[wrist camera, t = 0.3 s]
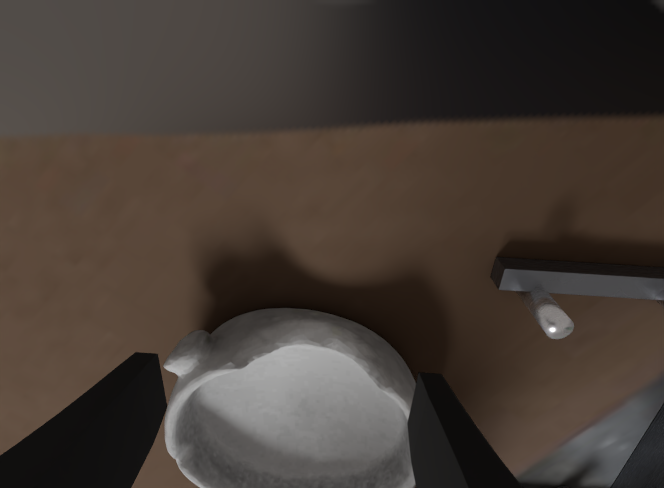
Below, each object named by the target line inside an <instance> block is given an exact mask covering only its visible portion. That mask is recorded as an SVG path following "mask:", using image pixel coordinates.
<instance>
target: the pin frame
mask: <svg viewBox="0 0 664 488" xmlns="http://www.w3.org/2000/svg"><path fill="white" fill-rule="evenodd" d="M491 279H492V280H493V282H494V283H495V285H496V286H497V288H498V289H499V290H511V291H516V292H517V294H518V295H519V297H520V298H521V299H522V301H523V302H524V304H525V305H526V306H527V308H528V309H529V311H530V312H531V313H532V315H533V316H534V318H535V319H536V320H537V322H538V323H539V325H540V326H541V327H542V329H543V330H544V332H545V333H546V334H547V336H548V337H550V338H552V339H561V338H564V337H566V336H568V335H569V334H570V333H571V332H572V331H573V328H574V324H573V322H572V321H571V319H570V318H569V317H568V316H567V315H566V313H565V312H564V311H563V310H562V309H561V308H560V306H559V305H558V304H557V303H556V302H555V300H554V299H553V298H552V297H551V296H550V295H549V293H559V294H574V295H590V296H606V297H622V298H637V299H653V300H656V301H657V302H658V303H659V304H661V305H662V306H663V307H664V268H663V267H647V266H631V265H616V264H600V263H584V262H568V261H552V260H537V259H521V258H505V257H496V259H495V263H494V266H493V270H492V273H491ZM557 488H570V487H568V486H560V487H557ZM611 488H664V405H663V406H662V408H661V410H660V411H659V413H658V414H657V416H656V417H655V419H654V421H653V422H652V424H651V425H650V427H649V429H648V430H647V432H646V433H645V435H644V436H643V438H642V440H641V441H640V443H639V444H638V446H637V448H636V449H635V451H634V452H633V454H632V455H631V457H630V459H629V460H628V462H627V463H626V465H625V466H624V468H623V470H622V471H621V473H620V474H619V476H618V478H617V479H616V481H615V482H614V484H613V485H612V487H611Z"/></svg>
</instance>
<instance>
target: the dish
mask: <svg viewBox="0 0 664 488" xmlns="http://www.w3.org/2000/svg"><path fill="white" fill-rule="evenodd" d="M164 368H165V369H167V370H168V371H171V372H174V373H176V374H177V375H178V376H179V377H178V380H177V382H176V384H175V386H174V389H173V391H172V394H171V397H170V400H169V403H168V407H167V411H166V416H165V441H166V446H167V450H168V452H169V454H170V455H171V456H172V457H173V458H174V459H176V462H177V464H178V466H179V469H180V470H181V471H182V473H183V474H184V475H185V476H186V477H187V478H188V479H189V480H190V481H192V482H193V483H194V484H196V485H197V486H199V487H200V488H414V487H415V479H414V474H413V469H412V464H411V456H410V447H409V436H408V426H407V423H408V418H409V414H410V409H411V405H412V400H413V396H414V391H415V387H416V383H415V380H414V378H413V376H412V374H411V372H410V370H409V368H408V366H407V365H406V363H405V361H404V360H403V359H402V358H401V356H400V355H399V354H398V353H397V351H396V350H395V349H394V348H393V347H392V346H391V345H390V344H389V343H388V342H387V341H386V340H384V339H383V338H381V337H380V336H379V335H377V334H376V333H375V332H373V331H371V330H369V329H368V328H366V327H364V326H362V325H360V324H358V323H356V322H353V321H350V320H348V319H345V318H342V317H339V316H336V315H332V314H328V313H324V312H319V311H314V310H308V309H296V308H271V309H262V310H256V311H252V312H248V313H245V314H242V315H239V316H236V317H234V318H232V319H230V320H229V321H227V322H225V323H223V324H222V325H221V326H219V327H218V328H217V329H216V330H214V331H213V332H212V333H211V334H209V333H208V332H206V331H205V330H197V331H193V332H191V333H190V334H188V335H187V336H186V337H184V338H183V339H182V340H180V341H179V343H178V344H177V346H176V347H175V349H174V350H173V351H172V353H171V354H170V355H169V356H168V358H167V360H166V362H165V364H164Z"/></svg>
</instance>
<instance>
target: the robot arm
mask: <svg viewBox="0 0 664 488" xmlns="http://www.w3.org/2000/svg"><path fill="white" fill-rule="evenodd" d="M166 408H167V403H166V397H165V392H164V386H163V380H162V375H161V369H160V364H159V358H158V354H152V353H138V352H136V353H134V354H133V355H132V356H130V357H129V358H128V359H127V360H125V361H124V362H123V363H122V364H120V365H119V366H118V367H117V368H115V369H114V370H113V371H112V372H110V373H109V374H108V375H107V376H105V377H104V378H103V379H102V380H100V381H99V382H98V383H97V384H95V385H94V386H93V387H92V388H90V389H89V390H88V391H87V392H85V393H84V394H83V395H82V396H80V397H79V398H78V399H76V400H75V401H74V402H73V403H71V404H70V405H69V406H68V407H66V408H65V409H64V410H62V411H61V412H60V413H59V414H57V415H56V416H55V417H53V418H52V419H50V420H49V421H48V422H46V423H45V424H44V425H42V426H41V427H39V428H38V429H37V430H35V431H34V432H33V433H31V434H30V435H29V436H27V437H26V438H24V439H23V440H22V441H20V442H19V443H18V444H16V445H15V446H13V447H12V448H10V449H9V450H8V451H6V452H5V453H3V454H2V455H0V488H131V487H132V485H133V483H134V481H135V479H136V477H137V475H138V473H139V471H140V469H141V467H142V465H143V463H144V461H145V459H146V457H147V455H148V453H149V451H150V449H151V447H152V445H153V443H154V440H155V438H156V435H157V433H158V430H159V428H160V425H161V422H162V419H163V417H164V414H165V411H166ZM407 426H408V436H409V447H410V456H411V464H412V469H413V474H414V479H415V484H416V488H523V487H522V486H521V484H520V483H519V482H518V481H517V479H516V478H515V477H514V476H513V474H512V473H511V472H510V471H509V469H508V468H507V467H506V466H505V464H504V463H503V462H502V460H501V459H500V458H499V456H498V455H497V454H496V453H495V451H494V450H493V448H492V447H491V446H490V444H489V443H488V442H487V440H486V439H485V438H484V436H483V435H482V433H481V432H480V431H479V429H478V428H477V426H476V425H475V424H474V422H473V421H472V419H471V418H470V416H469V415H468V413H467V412H466V411H465V409H464V408H463V406H462V405H461V403H460V402H459V400H458V399H457V397H456V396H455V394H454V392H453V391H452V389H451V388H450V386H449V385H448V383H447V382H446V380H445V378H444V377H443V376H442V375H441V374H434V373H420V372H419V373H418V378H417V382H416V387H415V391H414V396H413V400H412V405H411V409H410V414H409V418H408V423H407Z"/></svg>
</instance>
